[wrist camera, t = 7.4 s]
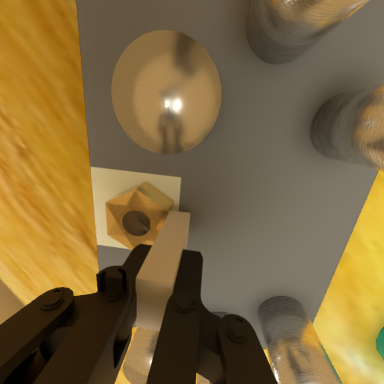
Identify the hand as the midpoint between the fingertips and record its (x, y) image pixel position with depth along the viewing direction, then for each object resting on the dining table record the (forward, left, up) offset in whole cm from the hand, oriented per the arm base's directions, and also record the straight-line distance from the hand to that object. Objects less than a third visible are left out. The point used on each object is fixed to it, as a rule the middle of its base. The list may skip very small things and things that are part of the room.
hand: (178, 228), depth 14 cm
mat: (-1, +3, -2) cm, 3 cm away
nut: (0, -3, -1) cm, 3 cm away
